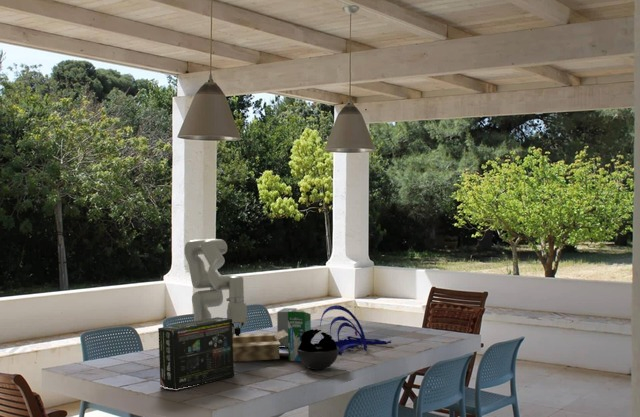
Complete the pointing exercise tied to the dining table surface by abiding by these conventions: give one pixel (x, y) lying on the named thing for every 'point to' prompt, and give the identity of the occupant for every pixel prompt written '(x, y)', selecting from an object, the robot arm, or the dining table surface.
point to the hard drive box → (284, 323)
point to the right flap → (281, 335)
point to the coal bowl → (317, 350)
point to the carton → (255, 347)
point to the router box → (196, 352)
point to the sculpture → (350, 342)
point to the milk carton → (297, 331)
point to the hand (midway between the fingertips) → (237, 335)
